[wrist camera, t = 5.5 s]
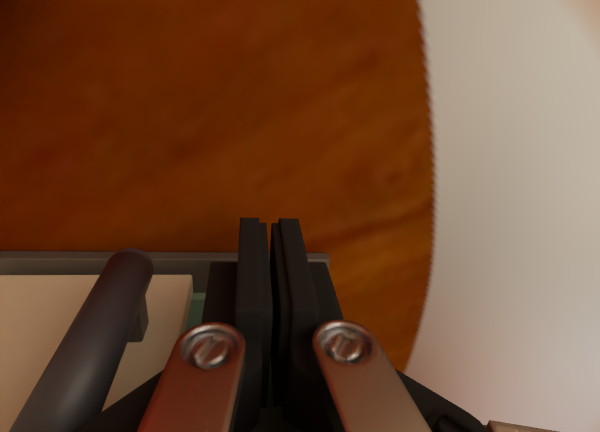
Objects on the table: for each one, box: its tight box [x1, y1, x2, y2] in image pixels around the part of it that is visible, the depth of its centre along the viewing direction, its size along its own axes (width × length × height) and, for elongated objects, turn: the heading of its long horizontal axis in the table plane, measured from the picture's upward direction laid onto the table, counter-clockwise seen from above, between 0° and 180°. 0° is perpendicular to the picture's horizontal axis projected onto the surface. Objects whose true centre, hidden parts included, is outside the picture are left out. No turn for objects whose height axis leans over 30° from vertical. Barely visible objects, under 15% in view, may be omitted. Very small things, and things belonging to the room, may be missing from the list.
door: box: [0, 248, 193, 432], centre depth 9 cm, size 3×6×9 cm, turn 85°
